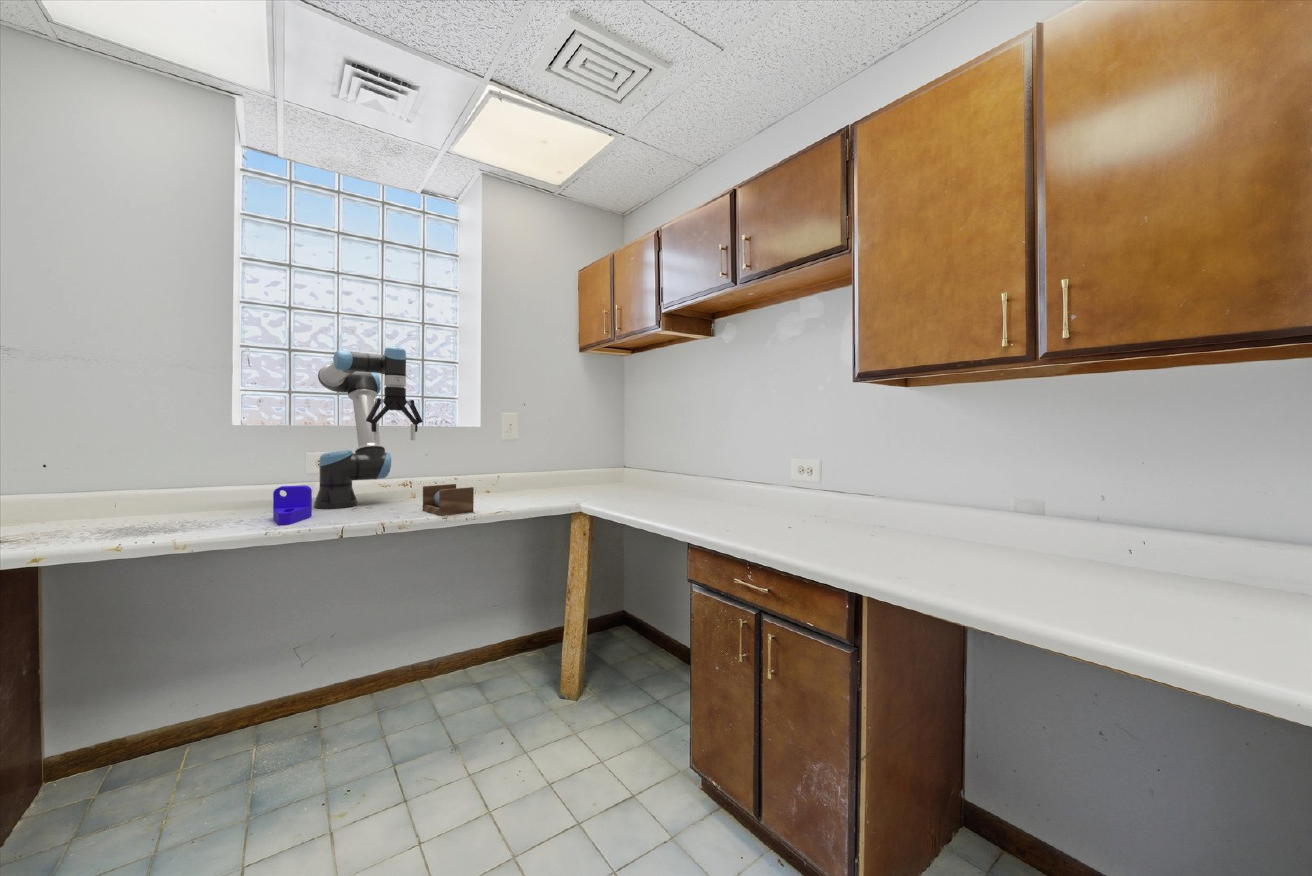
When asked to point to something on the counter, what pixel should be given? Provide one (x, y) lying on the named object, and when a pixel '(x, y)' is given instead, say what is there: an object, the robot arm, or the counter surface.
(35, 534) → the counter surface
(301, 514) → the bracket
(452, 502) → the cradle
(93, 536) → the counter surface
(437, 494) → the towel roll
